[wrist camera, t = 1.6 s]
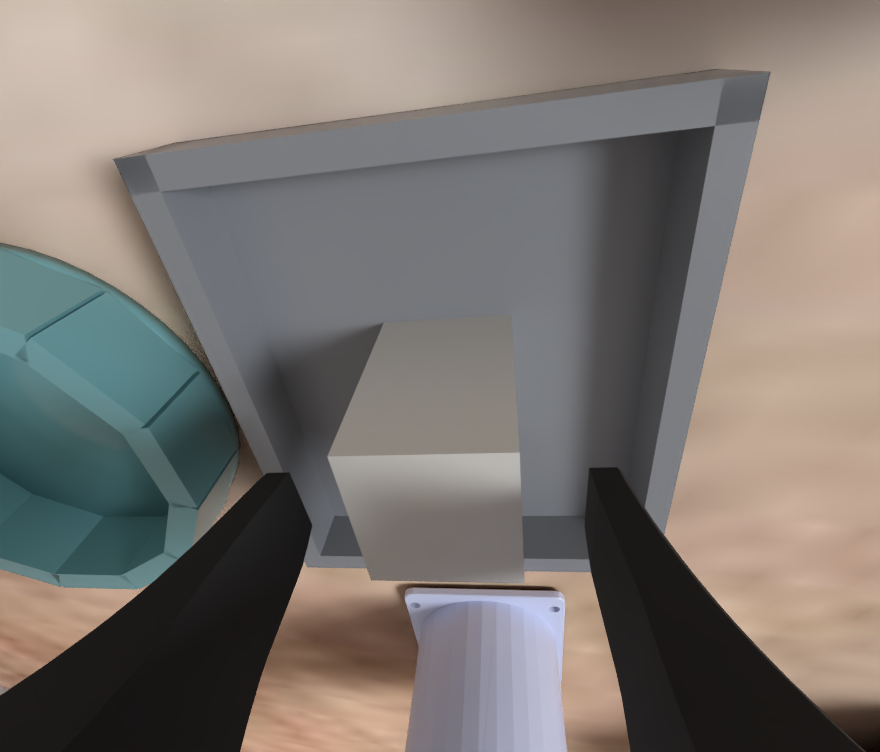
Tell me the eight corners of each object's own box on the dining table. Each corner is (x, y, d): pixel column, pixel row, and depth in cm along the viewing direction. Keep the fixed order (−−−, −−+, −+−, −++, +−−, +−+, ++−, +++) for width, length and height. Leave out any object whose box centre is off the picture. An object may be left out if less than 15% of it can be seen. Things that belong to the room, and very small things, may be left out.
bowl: (283, 519, 22) (250, 592, 19) (30, 519, 24) (-36, 584, 21) (140, 220, 14) (45, 263, 11) (-216, 259, 16) (-375, 303, 13)
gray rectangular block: (515, 427, 17) (524, 583, 12) (406, 430, 17) (371, 580, 12) (511, 314, 14) (519, 452, 9) (383, 322, 15) (327, 456, 10)
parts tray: (638, 518, 19) (655, 573, 17) (325, 518, 21) (307, 567, 19) (717, 69, 11) (770, 71, 9) (175, 142, 13) (112, 158, 11)
